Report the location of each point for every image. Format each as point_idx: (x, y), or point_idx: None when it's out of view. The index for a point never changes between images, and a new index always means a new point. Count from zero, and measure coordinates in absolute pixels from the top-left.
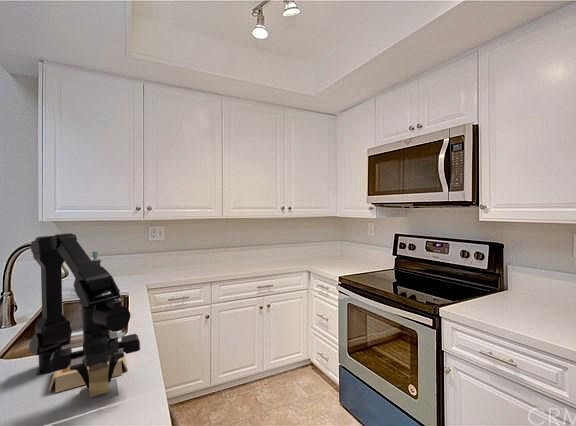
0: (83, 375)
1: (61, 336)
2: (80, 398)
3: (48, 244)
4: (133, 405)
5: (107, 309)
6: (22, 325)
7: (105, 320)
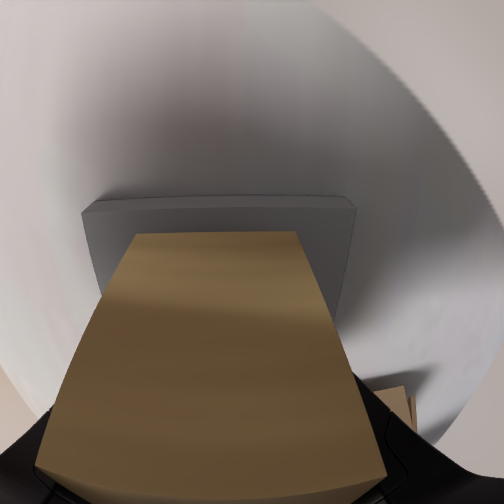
0: (396, 436)
1: None
2: (340, 288)
3: None
4: (17, 47)
5: None
6: None
7: None
